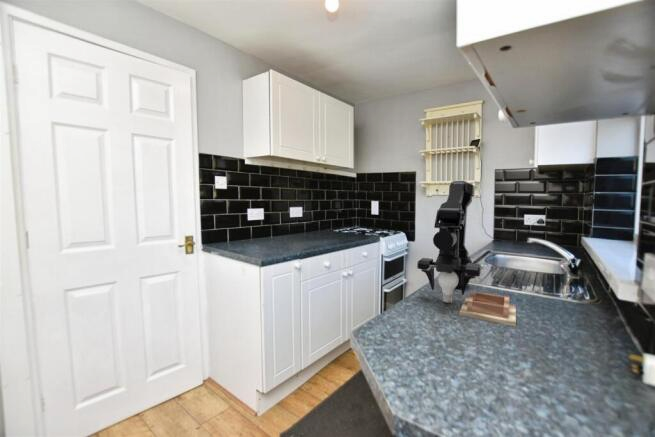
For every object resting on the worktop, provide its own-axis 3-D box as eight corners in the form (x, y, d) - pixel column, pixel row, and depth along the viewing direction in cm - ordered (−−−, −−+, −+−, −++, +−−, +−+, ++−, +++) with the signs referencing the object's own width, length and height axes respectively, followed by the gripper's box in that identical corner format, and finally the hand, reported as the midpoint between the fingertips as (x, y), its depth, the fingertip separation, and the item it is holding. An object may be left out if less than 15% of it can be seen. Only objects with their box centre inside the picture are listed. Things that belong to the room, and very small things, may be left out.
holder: (465, 301, 99) (466, 288, 98) (515, 309, 91) (516, 296, 91) (459, 315, 87) (459, 301, 87) (515, 326, 79) (516, 311, 79)
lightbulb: (455, 300, 99) (457, 268, 99) (459, 307, 93) (460, 273, 92) (435, 298, 101) (436, 267, 100) (438, 305, 95) (439, 271, 94)
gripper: (413, 246, 94) (412, 294, 95) (478, 252, 84) (476, 305, 85) (422, 241, 103) (421, 285, 104) (482, 246, 93) (480, 294, 95)
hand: (447, 292), depth 97 cm, fingers open, 9 cm apart
